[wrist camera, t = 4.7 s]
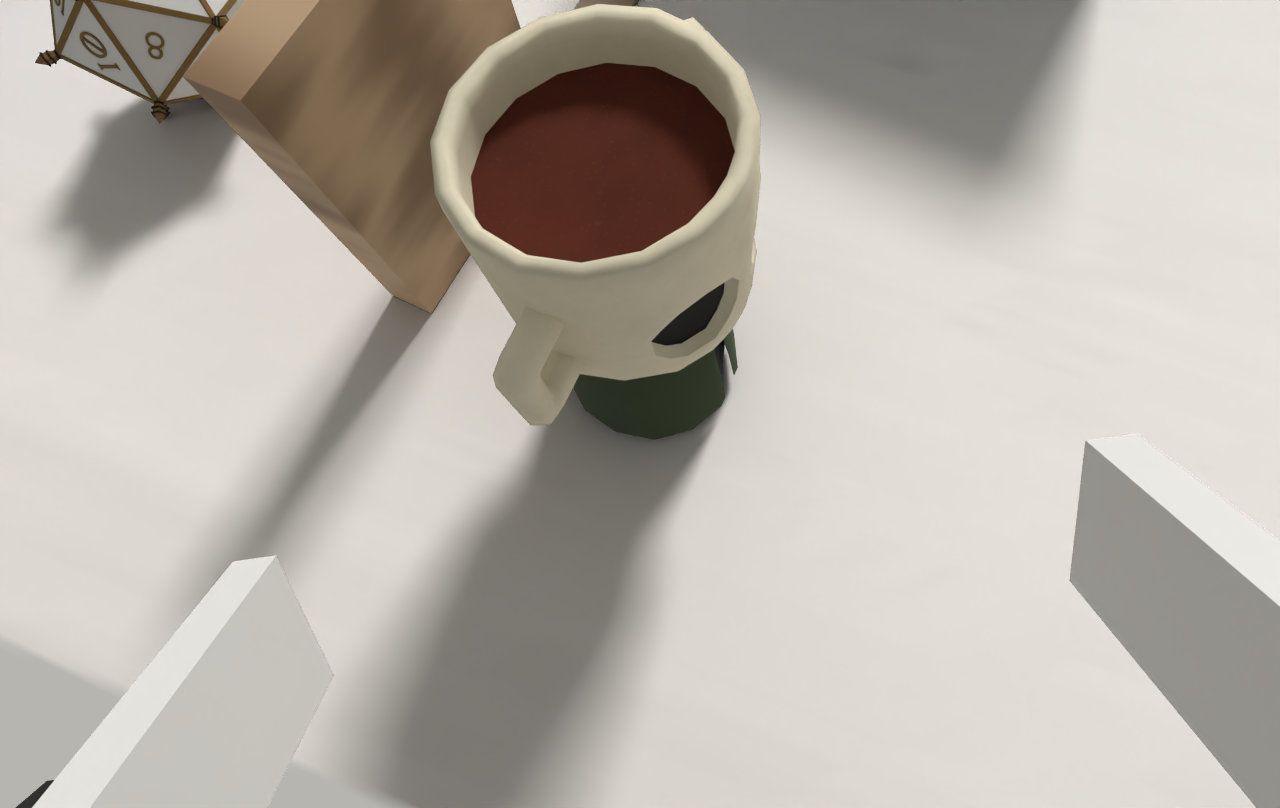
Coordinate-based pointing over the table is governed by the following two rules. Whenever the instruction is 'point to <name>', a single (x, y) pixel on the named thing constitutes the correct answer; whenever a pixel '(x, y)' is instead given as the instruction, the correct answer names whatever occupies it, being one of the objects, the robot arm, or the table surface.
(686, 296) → the character mug
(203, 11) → the game die
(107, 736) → the robot arm
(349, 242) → the door frame
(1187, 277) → the table surface
